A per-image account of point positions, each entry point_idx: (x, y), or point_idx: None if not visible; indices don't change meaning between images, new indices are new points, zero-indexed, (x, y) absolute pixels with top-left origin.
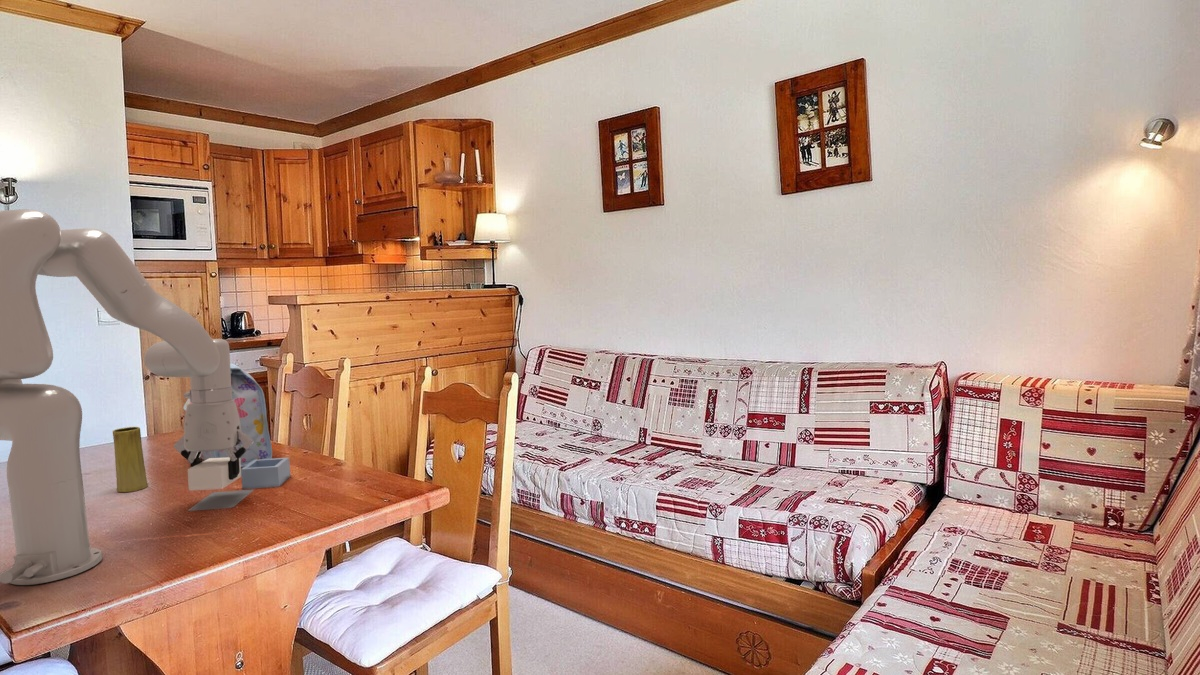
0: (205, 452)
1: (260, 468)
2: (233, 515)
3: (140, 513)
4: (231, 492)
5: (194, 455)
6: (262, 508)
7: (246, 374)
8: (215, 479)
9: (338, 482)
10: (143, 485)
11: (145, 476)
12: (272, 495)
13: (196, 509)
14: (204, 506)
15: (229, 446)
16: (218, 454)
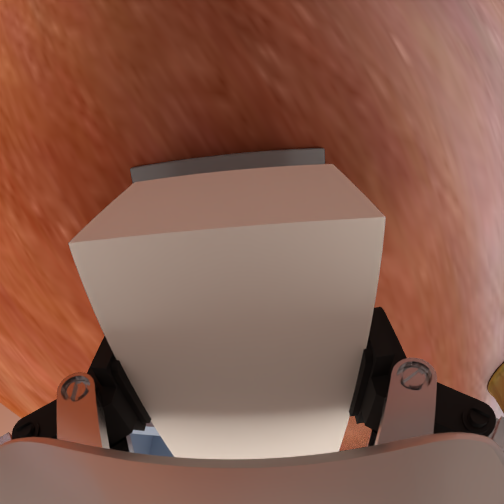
0: None
1: (150, 425)
2: (94, 98)
3: (481, 185)
4: None
5: (395, 416)
6: (36, 175)
7: None
8: (149, 197)
9: (7, 364)
10: (497, 378)
11: (499, 400)
12: (87, 306)
13: (289, 160)
14: None
15: (5, 448)
16: None
